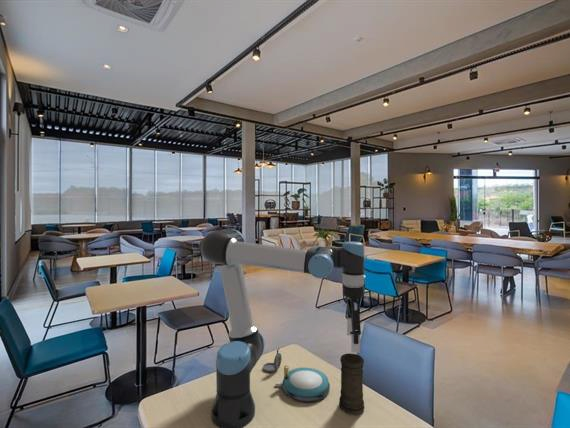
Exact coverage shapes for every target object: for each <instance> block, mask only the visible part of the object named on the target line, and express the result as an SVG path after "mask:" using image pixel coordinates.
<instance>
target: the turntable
mask: <svg viewBox="0 0 570 428" xmlns="http://www.w3.org/2000/svg"><path fill="white" fill-rule="evenodd" d="M283 380H284V387H285V388H286V390H287V391H288V392H290V393H292V394H294V395H296V396H300V397H315V396H319V395H321V394H323V393H324V392H325V391H326V390H327V389H328V382H329V379H328V376H327V375H326V374H325V373H324V372H323V371H321V370H318V369H315V368H313V367H298V368H297V367H296V368H294V369H290V370H289V366H288V365H284V366H283Z"/></svg>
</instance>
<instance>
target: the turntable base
mask: <svg viewBox="0 0 570 428" xmlns="http://www.w3.org/2000/svg"><path fill="white" fill-rule="evenodd" d="M275 387H279V388H280V387H281V388H282V393H284V395H285V396H286V397H287V398H289V399H290V400H292V401H295V402H298V403H301V404H302V403H305V404H309V403H311V404H313V403H317V402H321V401H323V400H324V399H325V398H327V397H328V396H329V394H330V390H331V388H330V387H331V386H330V381H328V389H327V390H326V391H325V392H324V393H323V394H321V395H319V396H315V397H300V396H296V395H294V394H292V393H290V392H288V391H287V390H286V388H285V387H284V379H283V380H282V382H279V381H278V382H277V381H276V382H275Z"/></svg>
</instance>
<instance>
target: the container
mask: <svg viewBox="0 0 570 428" xmlns="http://www.w3.org/2000/svg"><path fill="white" fill-rule="evenodd" d="M339 360H340V365H341V368H340V373H341V374H340V397H339V400H338V401H339V402H338V404H339V408H340V409H341V410H342V412H344V413H345V414H348V415H352V416H353V415H355V416H358V415H361V414H363V413H364V411H365V401H364V391H363V390H364V387H363V386H364V385H363V383H364V382H363V381H364V369H363V368H364V364H365V359H364V357H362V356H361V355H359V354H357V353H350V352H349V353H344V354H342V355H341V356H340V359H339Z"/></svg>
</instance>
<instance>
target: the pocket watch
mask: <svg viewBox="0 0 570 428" xmlns="http://www.w3.org/2000/svg"><path fill="white" fill-rule="evenodd" d="M279 351H280V347H279V348H278V349H277V350H276V355H274V356H275V357H274V359H273V362H267V363H265V364H263V366H262V369H263V371H265V372H269V373H272V372H273V373H274V372H276V371H277V370H279V368H281V367H280V366H281V364H282V353H280V352H279Z"/></svg>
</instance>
